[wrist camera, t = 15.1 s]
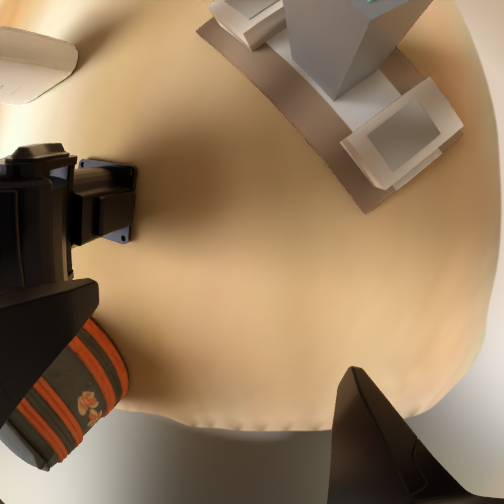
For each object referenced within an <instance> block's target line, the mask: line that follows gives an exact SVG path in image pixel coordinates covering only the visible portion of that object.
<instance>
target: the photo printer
mask: <svg viewBox="0 0 504 504" xmlns="http://www.w3.org/2000/svg"><path fill="white" fill-rule="evenodd" d="M77 60H78V51H77V49H76V48H75V45H73V44H72V43H69V42H66V41H63V40H59V39H56V38H52V37H49V36H45V35H41V34H37V33H34V32H30V31H25V30H21V29H17V28H12V27H6V26H2V27H0V104H26V103H28V102H30V101H32V100H33V99H35V98H36V97H38V96H40V95H41V94H43V93H44V92H46V91H47V90H49V89H50V88H52V87H53V86H55V85H56V84H58V83H59V82H61V81H62V80H64V79H65V78H67V77H68V76H69V75H70V74H71V73H72V71H73V70H74V69H75V67H76V64H77Z"/></svg>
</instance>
